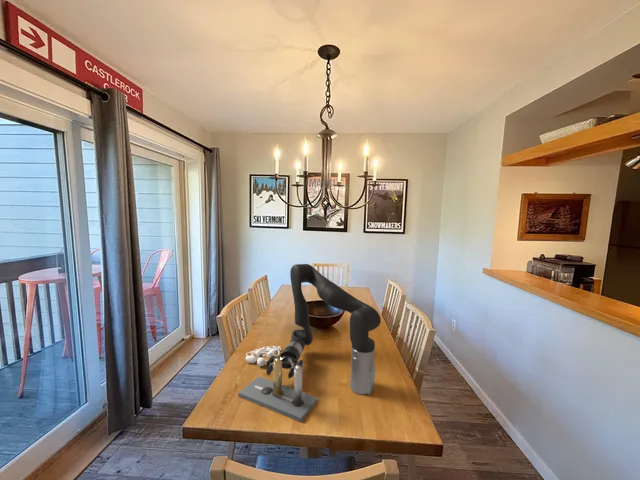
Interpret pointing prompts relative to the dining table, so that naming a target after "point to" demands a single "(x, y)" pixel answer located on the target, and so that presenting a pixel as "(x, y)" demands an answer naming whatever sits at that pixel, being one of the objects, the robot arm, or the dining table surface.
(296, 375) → the fixed leg
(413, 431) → the dining table surface
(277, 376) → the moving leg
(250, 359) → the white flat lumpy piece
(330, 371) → the dining table surface
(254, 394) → the board
